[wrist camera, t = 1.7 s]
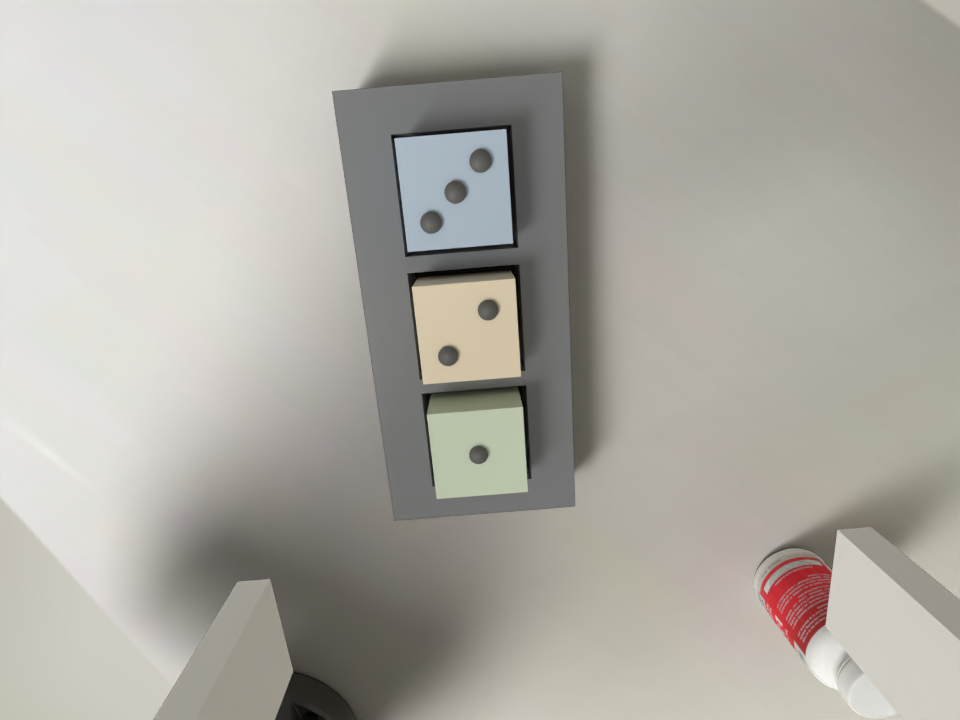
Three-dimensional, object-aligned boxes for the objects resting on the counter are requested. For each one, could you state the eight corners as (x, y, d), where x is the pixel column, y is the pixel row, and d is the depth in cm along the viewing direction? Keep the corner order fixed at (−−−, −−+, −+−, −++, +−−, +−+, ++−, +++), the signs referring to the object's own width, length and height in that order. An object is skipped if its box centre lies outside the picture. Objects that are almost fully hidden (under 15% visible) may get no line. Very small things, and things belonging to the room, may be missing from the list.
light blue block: (414, 246, 34) (407, 252, 30) (403, 145, 32) (393, 138, 28) (508, 238, 34) (513, 243, 30) (501, 137, 32) (506, 128, 28)
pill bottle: (735, 586, 45) (817, 704, 34) (783, 533, 44) (884, 640, 33) (790, 616, 46) (885, 741, 35) (839, 566, 45) (953, 680, 34)
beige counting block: (428, 364, 36) (422, 385, 32) (418, 277, 34) (411, 287, 30) (515, 357, 36) (521, 377, 32) (510, 269, 34) (515, 279, 30)
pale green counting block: (440, 469, 38) (436, 500, 34) (431, 392, 37) (426, 415, 33) (522, 462, 38) (528, 493, 34) (517, 385, 37) (522, 408, 33)
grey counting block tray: (401, 491, 42) (394, 520, 38) (347, 103, 34) (332, 91, 30) (565, 478, 42) (575, 506, 38) (551, 86, 34) (561, 71, 30)
